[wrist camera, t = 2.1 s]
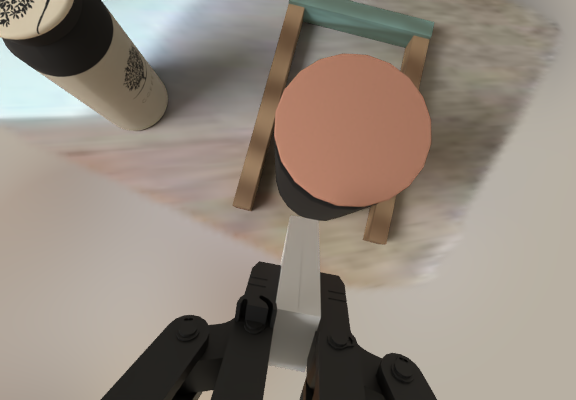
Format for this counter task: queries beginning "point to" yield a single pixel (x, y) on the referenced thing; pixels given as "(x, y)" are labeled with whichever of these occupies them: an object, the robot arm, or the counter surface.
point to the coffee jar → (348, 136)
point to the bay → (302, 8)
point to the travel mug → (85, 57)
